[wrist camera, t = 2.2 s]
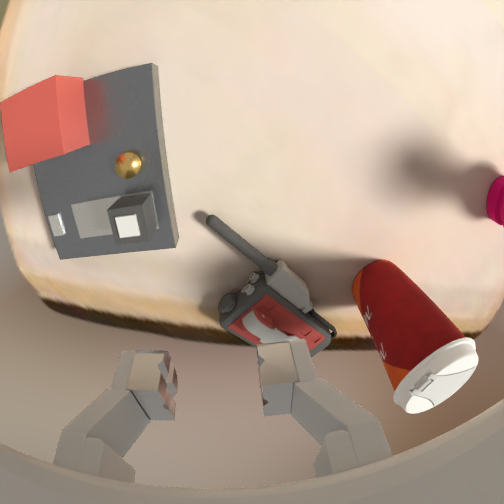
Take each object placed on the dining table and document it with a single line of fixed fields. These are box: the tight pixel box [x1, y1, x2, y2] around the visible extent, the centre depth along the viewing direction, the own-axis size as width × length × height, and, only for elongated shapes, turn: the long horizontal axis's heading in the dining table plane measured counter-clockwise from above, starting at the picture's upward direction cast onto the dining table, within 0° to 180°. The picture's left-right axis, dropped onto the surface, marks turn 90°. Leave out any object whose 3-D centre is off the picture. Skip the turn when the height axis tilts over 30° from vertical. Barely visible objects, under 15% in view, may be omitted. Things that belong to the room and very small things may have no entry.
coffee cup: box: [352, 260, 478, 413], centre depth 23 cm, size 8×8×15 cm
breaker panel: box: [34, 63, 179, 260], centre depth 20 cm, size 15×12×3 cm
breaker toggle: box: [107, 194, 157, 245], centre depth 20 cm, size 3×3×3 cm
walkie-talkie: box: [206, 215, 337, 357], centre depth 28 cm, size 9×4×20 cm
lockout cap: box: [0, 75, 90, 172], centre depth 15 cm, size 6×6×4 cm
